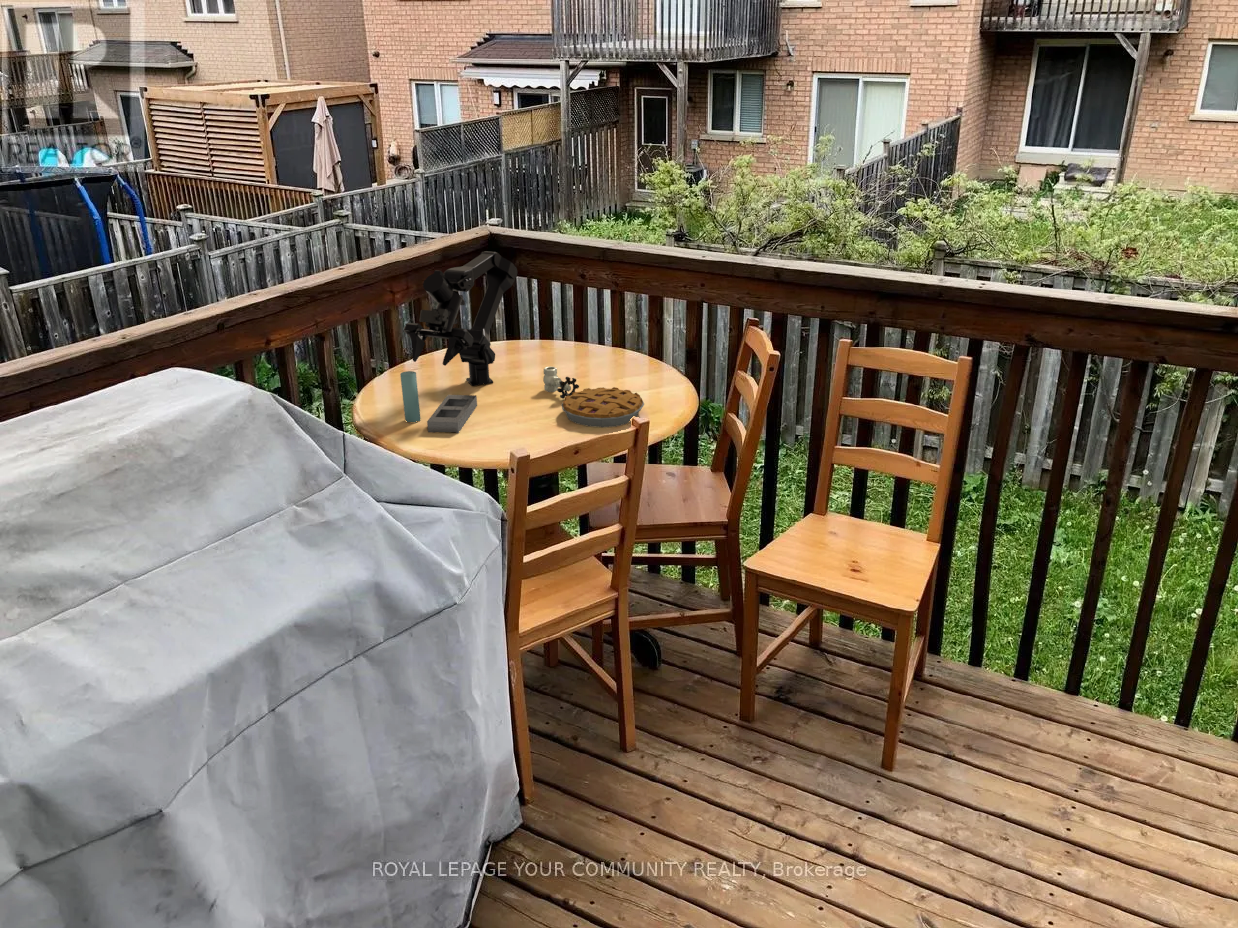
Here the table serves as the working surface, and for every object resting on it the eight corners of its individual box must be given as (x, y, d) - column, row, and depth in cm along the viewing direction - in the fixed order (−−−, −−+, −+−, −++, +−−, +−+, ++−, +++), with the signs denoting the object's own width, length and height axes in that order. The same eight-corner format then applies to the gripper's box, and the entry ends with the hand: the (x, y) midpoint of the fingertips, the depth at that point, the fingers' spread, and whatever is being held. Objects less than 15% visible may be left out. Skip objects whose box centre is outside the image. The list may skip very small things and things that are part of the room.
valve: (537, 390, 284) (559, 402, 275) (536, 368, 281) (558, 379, 272) (557, 386, 288) (579, 397, 278) (556, 364, 285) (578, 375, 276)
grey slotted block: (448, 405, 274) (447, 394, 273) (477, 405, 273) (476, 395, 272) (428, 432, 256) (427, 421, 255) (458, 433, 255) (457, 422, 254)
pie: (656, 407, 271) (656, 389, 269) (623, 435, 253) (623, 416, 251) (584, 396, 279) (583, 379, 277) (547, 423, 261) (546, 405, 259)
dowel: (403, 419, 265) (398, 372, 259) (418, 416, 266) (413, 370, 261) (407, 424, 261) (402, 377, 256) (422, 421, 263) (417, 374, 258)
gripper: (403, 293, 265) (384, 345, 261) (464, 299, 259) (446, 352, 254) (422, 314, 275) (404, 364, 271) (481, 320, 269) (464, 372, 264)
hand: (428, 363), depth 265 cm, fingers open, 9 cm apart
